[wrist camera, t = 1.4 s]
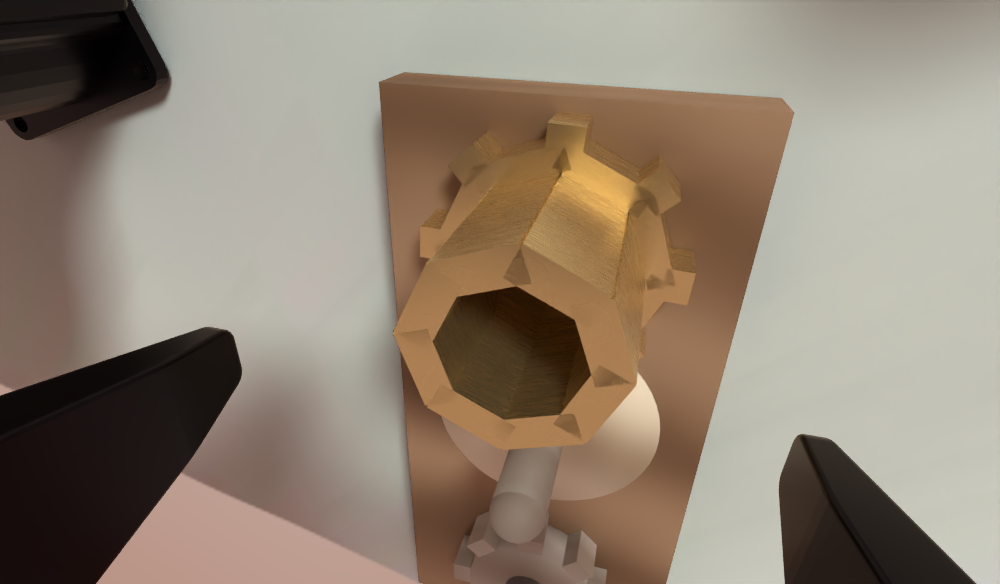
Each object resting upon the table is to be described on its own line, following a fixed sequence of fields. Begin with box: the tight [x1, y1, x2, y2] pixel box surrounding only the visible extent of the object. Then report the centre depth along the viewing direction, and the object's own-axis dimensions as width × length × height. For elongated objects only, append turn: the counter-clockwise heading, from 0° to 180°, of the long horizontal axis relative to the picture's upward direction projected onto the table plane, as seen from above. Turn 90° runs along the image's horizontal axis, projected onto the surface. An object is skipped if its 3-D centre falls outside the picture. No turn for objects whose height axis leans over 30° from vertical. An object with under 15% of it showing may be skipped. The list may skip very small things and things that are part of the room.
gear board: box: [379, 72, 794, 584], centre depth 16 cm, size 19×9×6 cm, turn 179°
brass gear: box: [393, 111, 696, 450], centre depth 12 cm, size 6×6×5 cm
